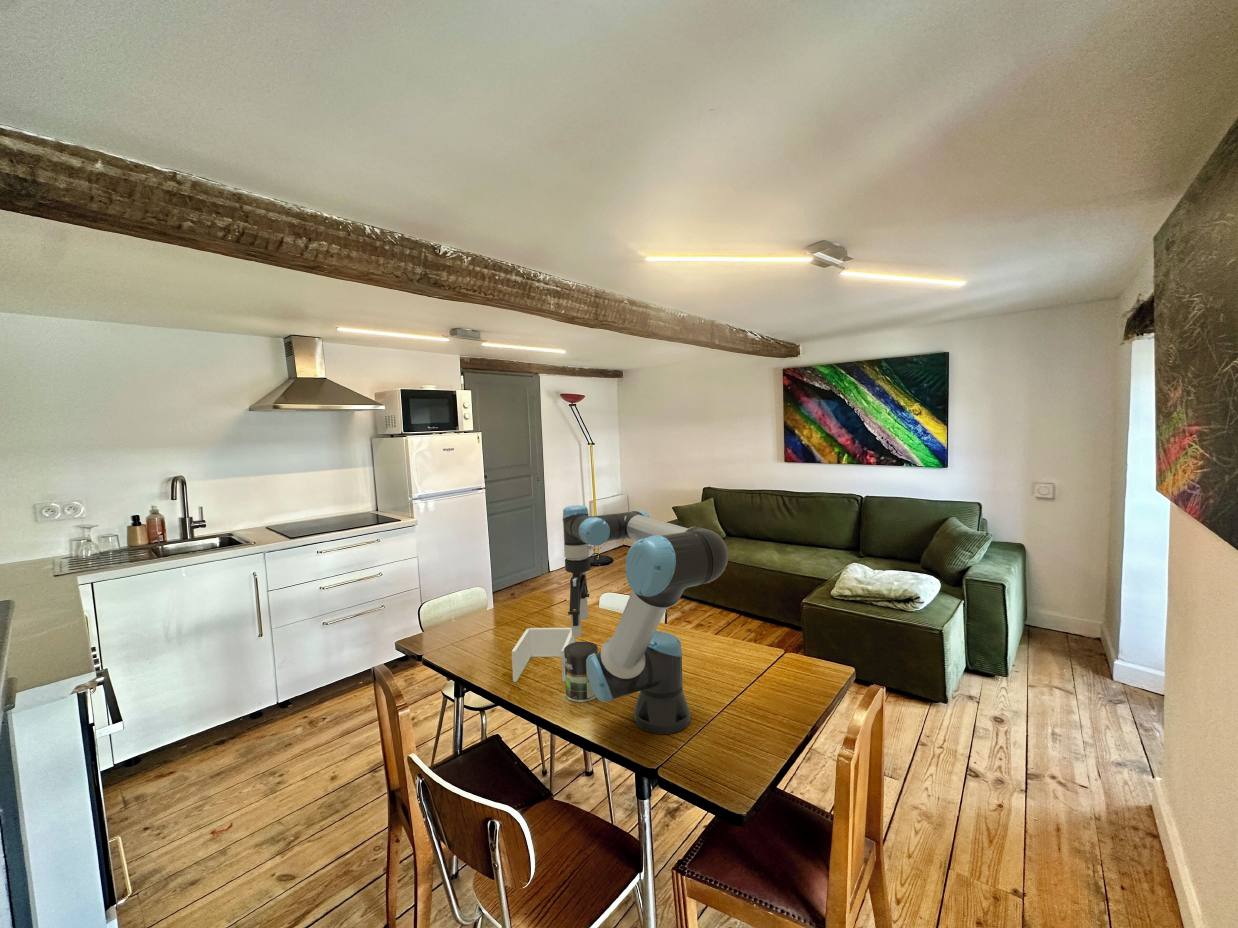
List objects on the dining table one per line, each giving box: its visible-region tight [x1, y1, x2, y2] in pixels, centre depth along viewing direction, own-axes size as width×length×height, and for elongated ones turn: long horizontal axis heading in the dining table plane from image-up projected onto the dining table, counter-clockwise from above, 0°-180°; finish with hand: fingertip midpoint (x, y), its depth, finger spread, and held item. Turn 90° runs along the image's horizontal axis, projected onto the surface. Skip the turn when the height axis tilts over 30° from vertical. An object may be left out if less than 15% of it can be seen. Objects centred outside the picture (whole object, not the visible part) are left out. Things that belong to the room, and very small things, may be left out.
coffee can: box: [564, 641, 599, 703], centre depth 148 cm, size 10×10×14 cm
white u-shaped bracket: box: [511, 627, 576, 683], centre depth 166 cm, size 19×17×10 cm
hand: (580, 626), depth 147 cm, fingers open, 13 cm apart
